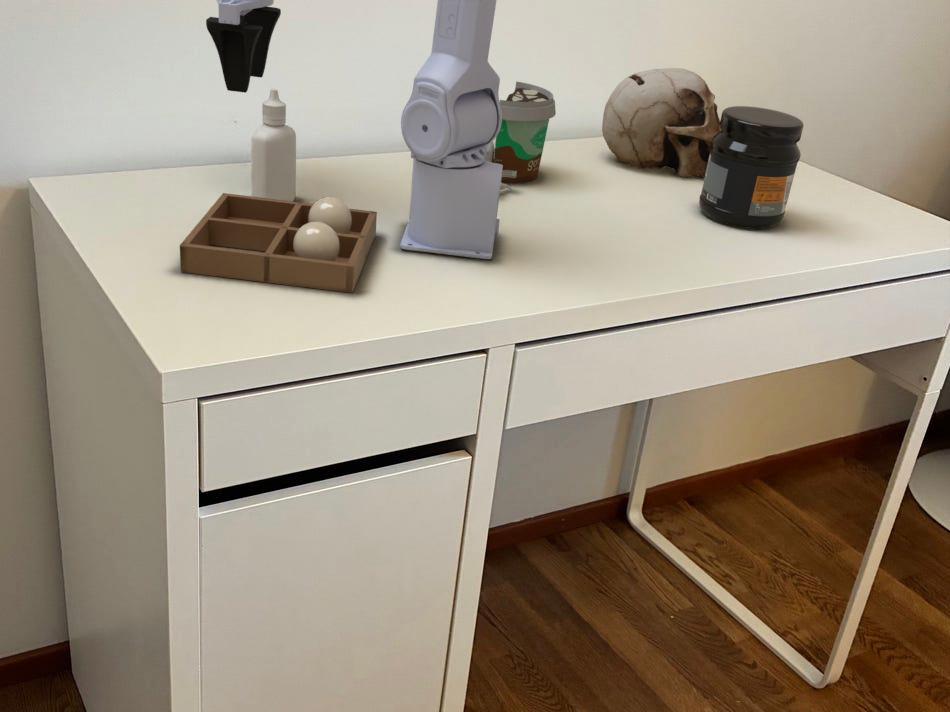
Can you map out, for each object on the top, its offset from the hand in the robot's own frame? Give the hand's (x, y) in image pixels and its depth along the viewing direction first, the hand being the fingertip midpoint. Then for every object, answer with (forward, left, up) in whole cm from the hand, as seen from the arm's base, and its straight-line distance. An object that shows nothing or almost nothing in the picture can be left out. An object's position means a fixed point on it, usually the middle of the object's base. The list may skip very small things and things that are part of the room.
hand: (245, 83), depth 123 cm
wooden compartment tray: (-9, +23, -10) cm, 26 cm away
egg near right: (-13, +26, -8) cm, 30 cm away
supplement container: (-59, -8, -11) cm, 60 cm away
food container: (-32, -14, -11) cm, 37 cm away
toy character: (-24, -8, -7) cm, 27 cm away
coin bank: (-52, -28, -11) cm, 60 cm away
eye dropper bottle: (-5, +8, -11) cm, 14 cm away
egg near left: (-13, +19, -8) cm, 24 cm away
